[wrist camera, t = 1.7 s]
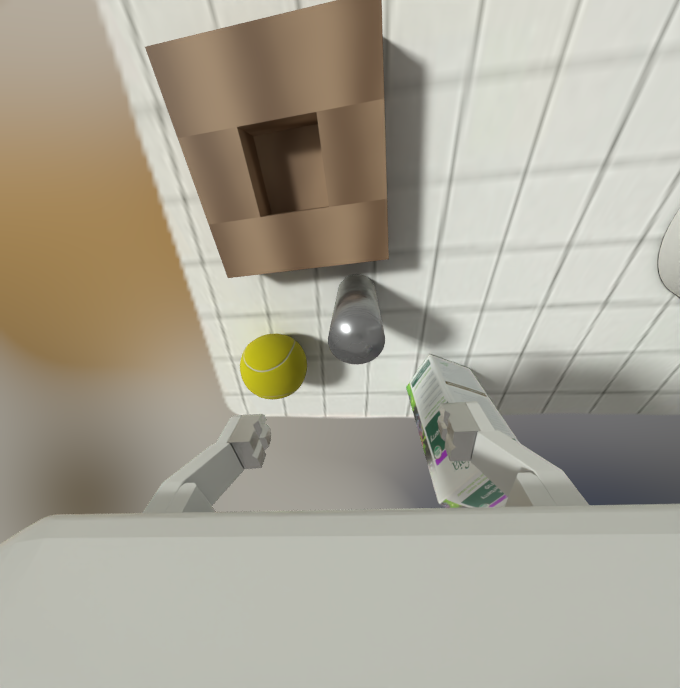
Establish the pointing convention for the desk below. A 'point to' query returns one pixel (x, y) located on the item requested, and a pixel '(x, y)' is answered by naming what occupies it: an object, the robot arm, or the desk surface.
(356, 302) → the pin
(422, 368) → the syrup box
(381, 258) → the socket block
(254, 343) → the tennis ball
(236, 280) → the desk surface
